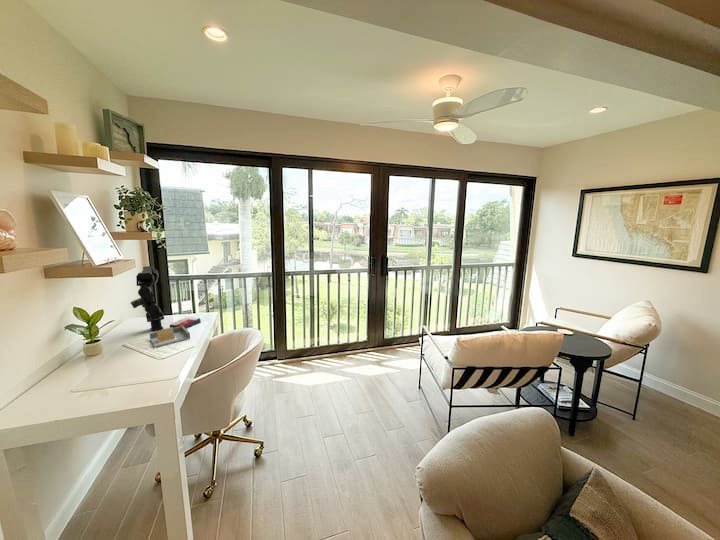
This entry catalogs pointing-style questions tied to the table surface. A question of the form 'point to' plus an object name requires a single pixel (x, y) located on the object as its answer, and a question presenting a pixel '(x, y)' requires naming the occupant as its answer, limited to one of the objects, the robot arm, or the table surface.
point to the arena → (179, 334)
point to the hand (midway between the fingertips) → (151, 317)
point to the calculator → (186, 322)
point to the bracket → (165, 335)
